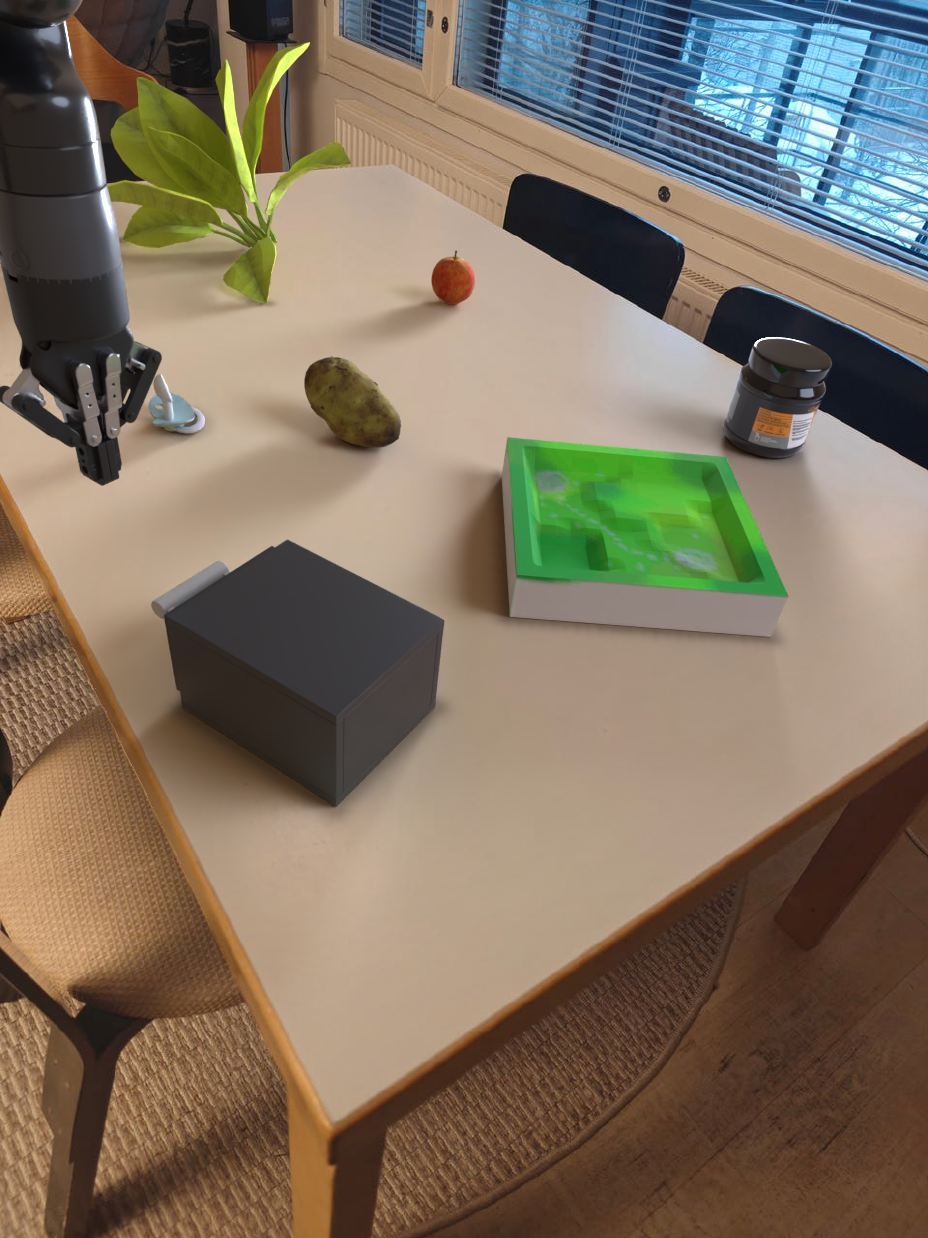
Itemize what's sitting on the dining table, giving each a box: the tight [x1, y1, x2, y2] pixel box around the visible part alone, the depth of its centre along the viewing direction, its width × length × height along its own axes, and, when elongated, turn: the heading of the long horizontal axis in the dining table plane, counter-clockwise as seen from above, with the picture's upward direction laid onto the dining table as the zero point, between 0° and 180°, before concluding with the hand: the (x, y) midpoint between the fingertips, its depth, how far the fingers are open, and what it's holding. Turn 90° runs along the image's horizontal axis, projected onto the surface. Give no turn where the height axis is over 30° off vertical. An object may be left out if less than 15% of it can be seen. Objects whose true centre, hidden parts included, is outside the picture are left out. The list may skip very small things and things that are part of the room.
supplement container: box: [722, 337, 833, 459], centre depth 108 cm, size 10×10×12 cm
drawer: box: [150, 545, 276, 692], centre depth 67 cm, size 19×11×8 cm, turn 57°
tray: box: [501, 436, 790, 638], centre depth 89 cm, size 25×25×5 cm
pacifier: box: [148, 373, 206, 434], centre depth 99 cm, size 7×6×6 cm
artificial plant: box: [107, 41, 352, 305], centre depth 133 cm, size 42×43×30 cm
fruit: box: [430, 250, 476, 306], centre depth 136 cm, size 7×7×8 cm
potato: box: [303, 355, 402, 448], centre depth 101 cm, size 8×13×8 cm, turn 34°
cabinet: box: [168, 539, 446, 808], centre depth 66 cm, size 16×13×10 cm
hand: (103, 478), depth 68 cm, fingers closed
